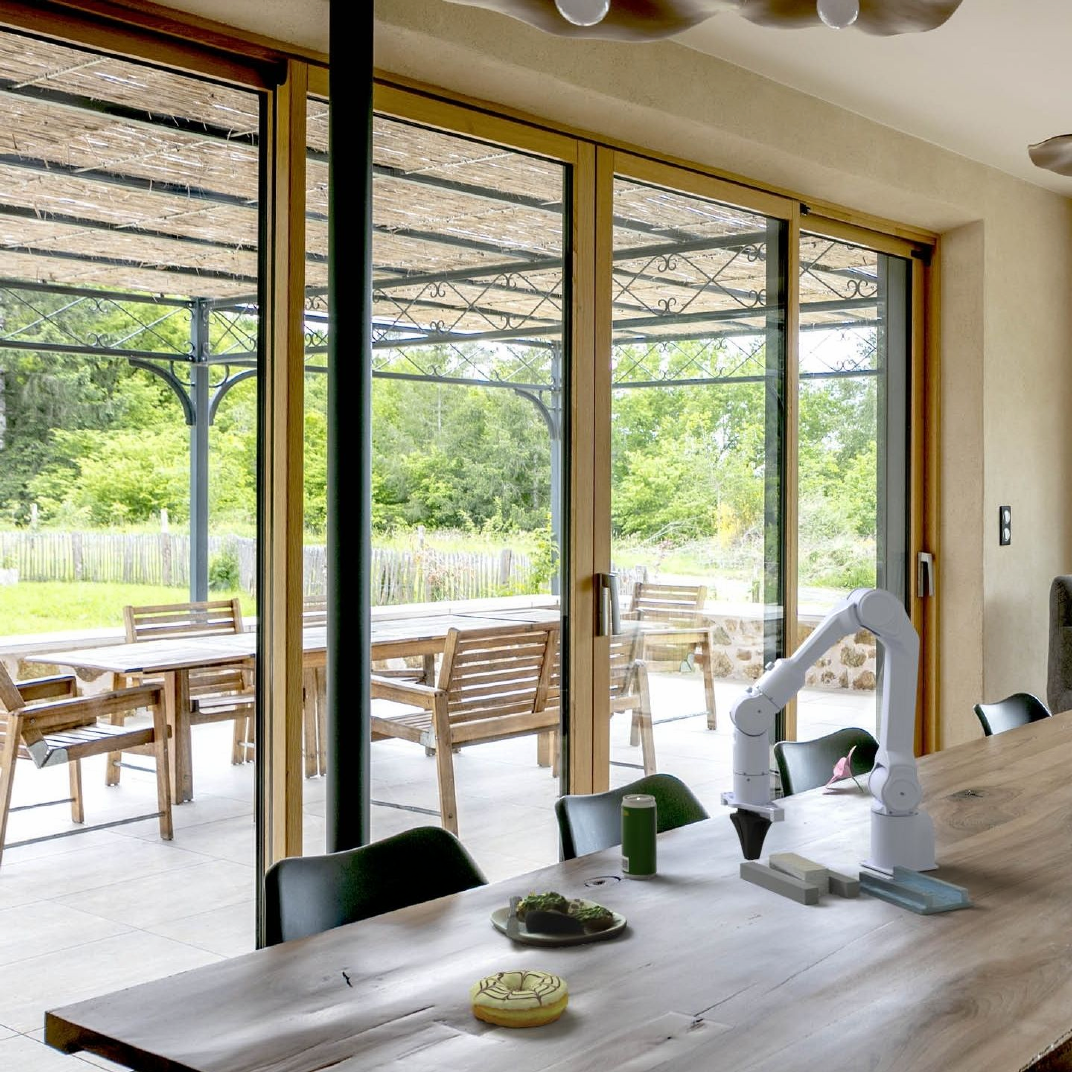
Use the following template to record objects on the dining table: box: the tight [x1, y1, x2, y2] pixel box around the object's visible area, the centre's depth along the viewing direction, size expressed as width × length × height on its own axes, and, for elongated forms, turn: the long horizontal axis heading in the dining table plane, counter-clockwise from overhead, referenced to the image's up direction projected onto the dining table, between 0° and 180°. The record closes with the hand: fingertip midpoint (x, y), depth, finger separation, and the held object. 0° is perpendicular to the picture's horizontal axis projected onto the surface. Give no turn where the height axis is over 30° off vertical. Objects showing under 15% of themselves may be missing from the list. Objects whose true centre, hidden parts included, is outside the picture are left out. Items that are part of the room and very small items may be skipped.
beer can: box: [620, 793, 658, 881], centre depth 197 cm, size 5×5×12 cm
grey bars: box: [739, 861, 861, 906], centre depth 190 cm, size 10×16×2 cm, turn 25°
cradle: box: [858, 866, 973, 916], centre depth 184 cm, size 9×14×2 cm, turn 25°
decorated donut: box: [469, 969, 570, 1029], centre depth 141 cm, size 10×11×4 cm
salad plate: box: [489, 890, 628, 949], centre depth 172 cm, size 19×18×5 cm
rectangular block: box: [768, 852, 830, 897], centre depth 190 cm, size 4×10×4 cm, turn 20°
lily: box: [821, 745, 864, 795], centre depth 260 cm, size 12×12×10 cm
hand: (751, 859), depth 201 cm, fingers closed
